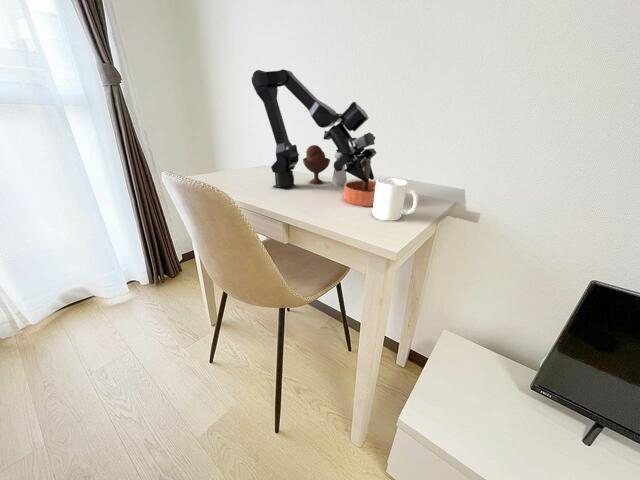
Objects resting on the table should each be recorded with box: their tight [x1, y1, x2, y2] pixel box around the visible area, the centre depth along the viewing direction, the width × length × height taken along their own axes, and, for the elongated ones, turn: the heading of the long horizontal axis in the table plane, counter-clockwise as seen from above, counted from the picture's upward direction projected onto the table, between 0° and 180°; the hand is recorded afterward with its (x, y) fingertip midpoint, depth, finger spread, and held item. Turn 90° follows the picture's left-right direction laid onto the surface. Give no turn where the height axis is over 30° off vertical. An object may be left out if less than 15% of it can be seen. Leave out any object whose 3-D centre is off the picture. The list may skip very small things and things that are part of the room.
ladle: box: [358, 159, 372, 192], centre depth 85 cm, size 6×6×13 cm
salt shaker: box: [332, 151, 348, 187], centre depth 102 cm, size 6×6×13 cm
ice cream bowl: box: [302, 144, 331, 185], centre depth 105 cm, size 11×11×15 cm
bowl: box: [342, 179, 376, 208], centre depth 87 cm, size 14×14×5 cm
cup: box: [372, 177, 419, 222], centre depth 72 cm, size 8×12×10 cm
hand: (370, 180), depth 84 cm, fingers open, 4 cm apart
